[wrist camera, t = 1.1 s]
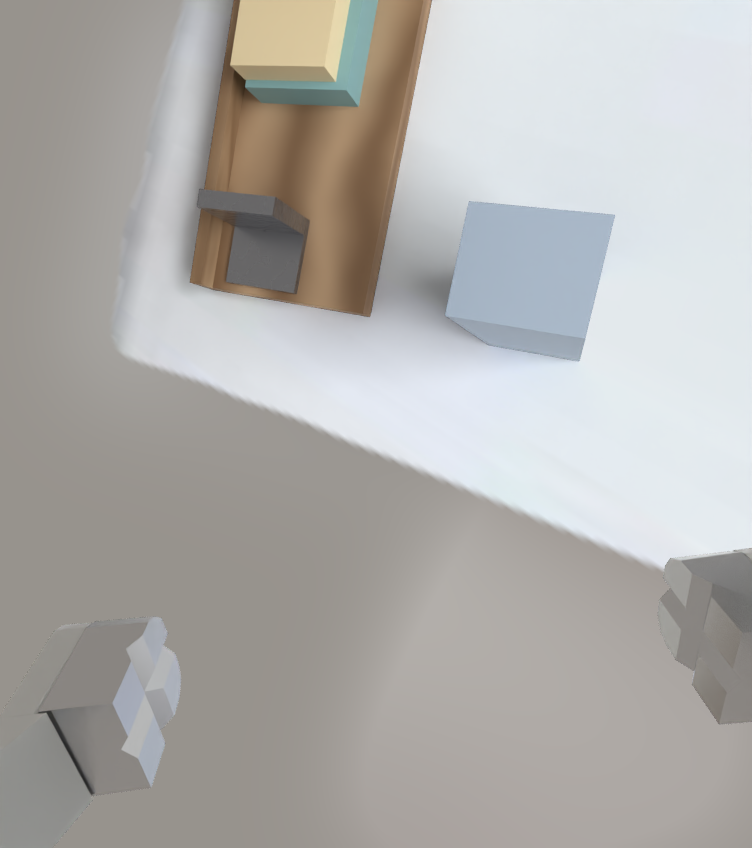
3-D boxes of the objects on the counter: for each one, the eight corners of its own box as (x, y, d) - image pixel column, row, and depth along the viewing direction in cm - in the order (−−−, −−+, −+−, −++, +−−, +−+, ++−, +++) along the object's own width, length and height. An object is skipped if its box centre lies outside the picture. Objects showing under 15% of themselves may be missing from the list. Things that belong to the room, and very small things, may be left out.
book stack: (380, -15, 37) (359, -61, 34) (358, 107, 38) (335, 74, 34) (278, -11, 40) (248, -54, 36) (260, 103, 41) (228, 72, 37)
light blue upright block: (505, 272, 37) (468, 201, 24) (597, 284, 35) (615, 214, 22) (488, 345, 37) (444, 315, 24) (579, 361, 35) (585, 338, 22)
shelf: (439, -38, 37) (372, -263, 25) (370, 317, 40) (278, 278, 27) (265, -29, 42) (132, -216, 29) (213, 289, 45) (72, 246, 32)
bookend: (310, 220, 40) (275, 196, 35) (296, 294, 40) (261, 280, 36) (241, 212, 42) (199, 188, 37) (229, 283, 42) (187, 268, 38)
